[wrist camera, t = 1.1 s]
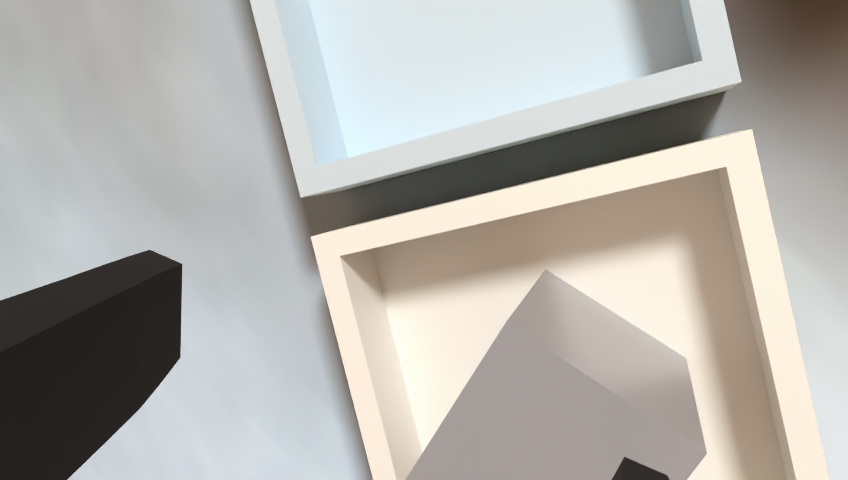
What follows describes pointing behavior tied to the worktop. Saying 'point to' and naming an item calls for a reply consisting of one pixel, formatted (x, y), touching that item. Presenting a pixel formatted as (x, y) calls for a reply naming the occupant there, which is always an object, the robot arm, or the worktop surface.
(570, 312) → the stone block
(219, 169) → the worktop surface
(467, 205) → the bin
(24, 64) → the worktop surface
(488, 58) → the bin
